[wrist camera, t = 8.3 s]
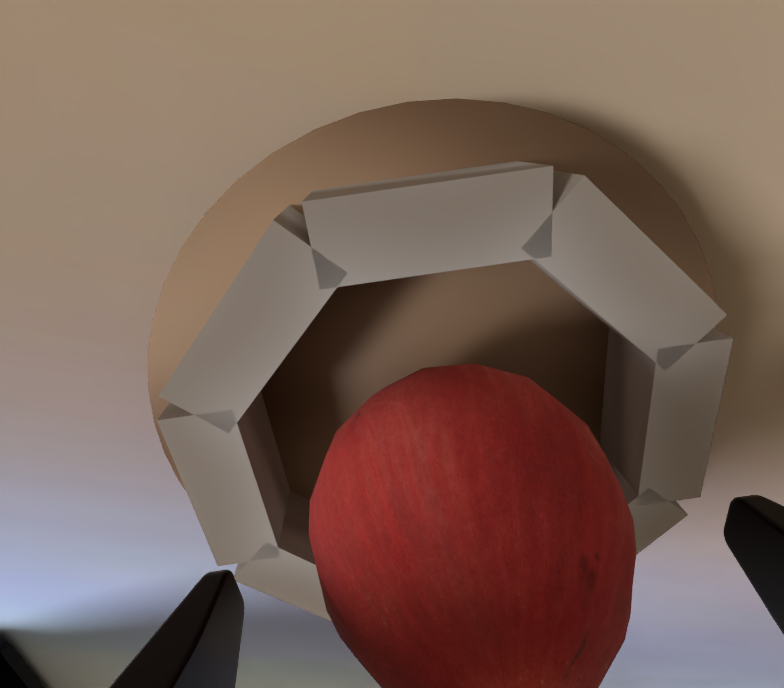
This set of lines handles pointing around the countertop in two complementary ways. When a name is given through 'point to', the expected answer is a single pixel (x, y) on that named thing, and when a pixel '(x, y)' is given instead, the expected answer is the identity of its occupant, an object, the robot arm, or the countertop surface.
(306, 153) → the ring board
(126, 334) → the countertop surface
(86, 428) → the countertop surface
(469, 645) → the onion
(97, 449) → the countertop surface
